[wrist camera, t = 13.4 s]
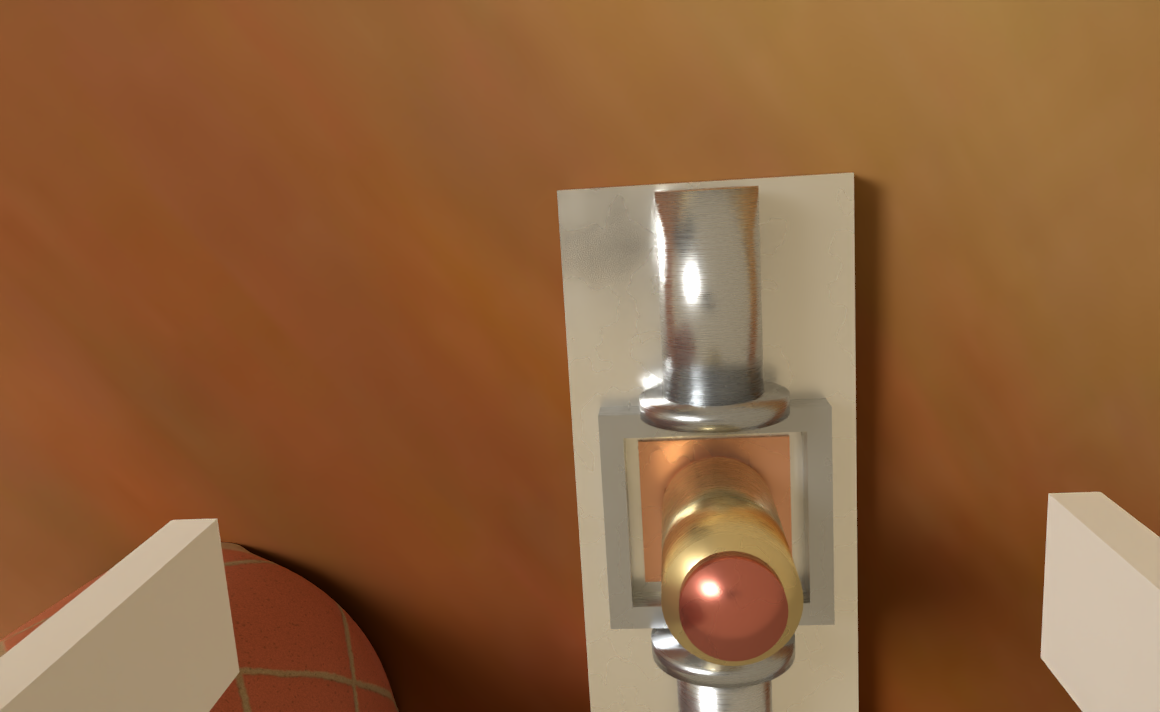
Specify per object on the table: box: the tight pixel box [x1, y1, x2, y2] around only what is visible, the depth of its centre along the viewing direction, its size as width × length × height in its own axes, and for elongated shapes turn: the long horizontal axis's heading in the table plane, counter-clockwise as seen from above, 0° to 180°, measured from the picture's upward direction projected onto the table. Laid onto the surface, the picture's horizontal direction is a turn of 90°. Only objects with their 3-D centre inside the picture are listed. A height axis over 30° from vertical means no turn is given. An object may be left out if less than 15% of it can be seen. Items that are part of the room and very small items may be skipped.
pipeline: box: [557, 173, 859, 712], centre depth 40 cm, size 28×12×6 cm, turn 3°
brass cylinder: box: [661, 457, 803, 666], centre depth 37 cm, size 5×5×10 cm
